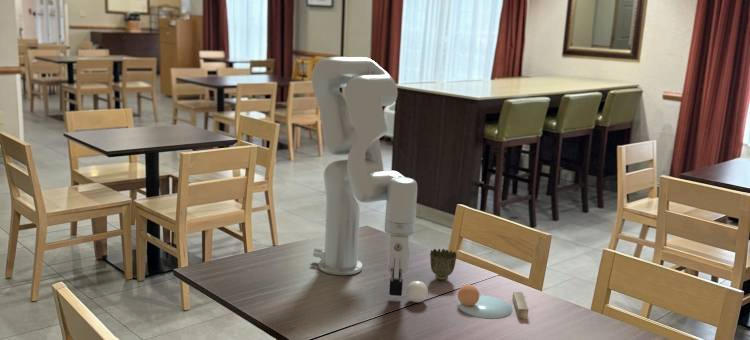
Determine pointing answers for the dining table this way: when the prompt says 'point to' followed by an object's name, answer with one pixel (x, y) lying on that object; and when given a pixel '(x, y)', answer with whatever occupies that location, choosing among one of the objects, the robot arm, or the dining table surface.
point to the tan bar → (520, 305)
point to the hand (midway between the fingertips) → (395, 294)
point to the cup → (442, 263)
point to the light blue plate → (487, 308)
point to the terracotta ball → (468, 295)
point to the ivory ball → (417, 291)
